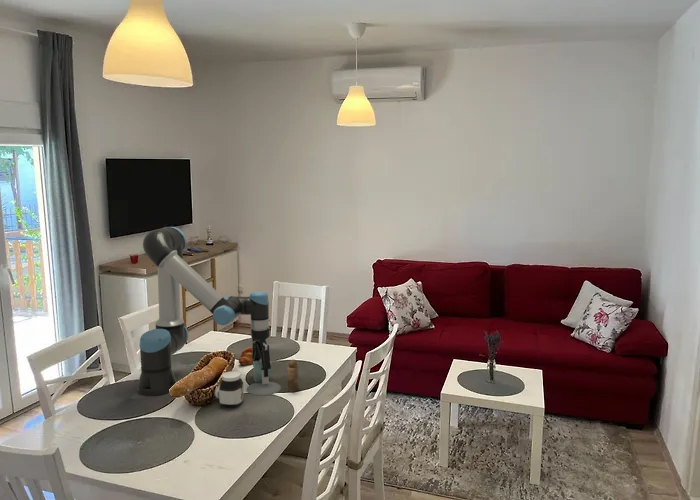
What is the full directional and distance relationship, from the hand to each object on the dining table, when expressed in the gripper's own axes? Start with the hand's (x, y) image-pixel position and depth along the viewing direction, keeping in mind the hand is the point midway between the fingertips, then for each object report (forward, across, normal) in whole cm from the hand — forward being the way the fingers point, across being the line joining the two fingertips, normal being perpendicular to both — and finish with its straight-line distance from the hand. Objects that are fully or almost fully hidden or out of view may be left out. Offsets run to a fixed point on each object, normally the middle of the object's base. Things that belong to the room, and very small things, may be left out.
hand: (261, 380), depth 230 cm
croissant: (0, +26, -6) cm, 27 cm away
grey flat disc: (+1, -8, +2) cm, 8 cm away
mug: (0, +1, 0) cm, 1 cm away
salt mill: (+1, -15, -8) cm, 17 cm away
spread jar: (+1, -14, +19) cm, 23 cm away
